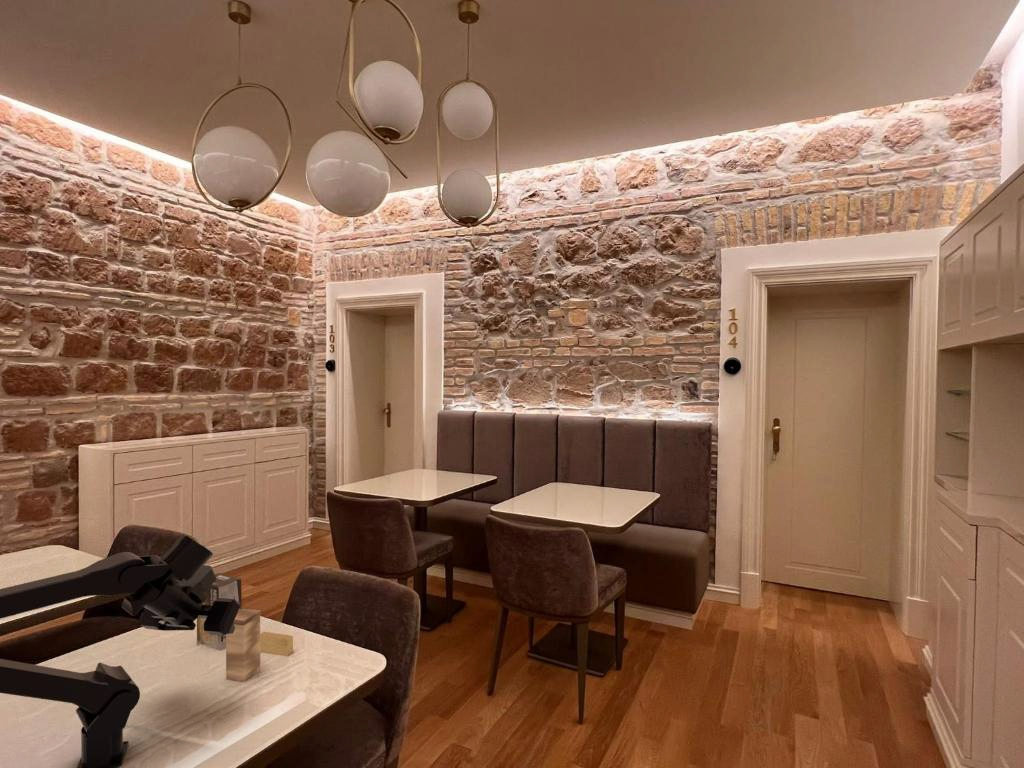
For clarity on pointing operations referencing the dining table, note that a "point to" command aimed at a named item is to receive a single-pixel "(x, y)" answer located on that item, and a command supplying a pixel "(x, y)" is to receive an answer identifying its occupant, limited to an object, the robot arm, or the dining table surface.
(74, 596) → the robot arm
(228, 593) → the coffee box
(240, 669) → the block
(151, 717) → the dining table surface
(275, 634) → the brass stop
